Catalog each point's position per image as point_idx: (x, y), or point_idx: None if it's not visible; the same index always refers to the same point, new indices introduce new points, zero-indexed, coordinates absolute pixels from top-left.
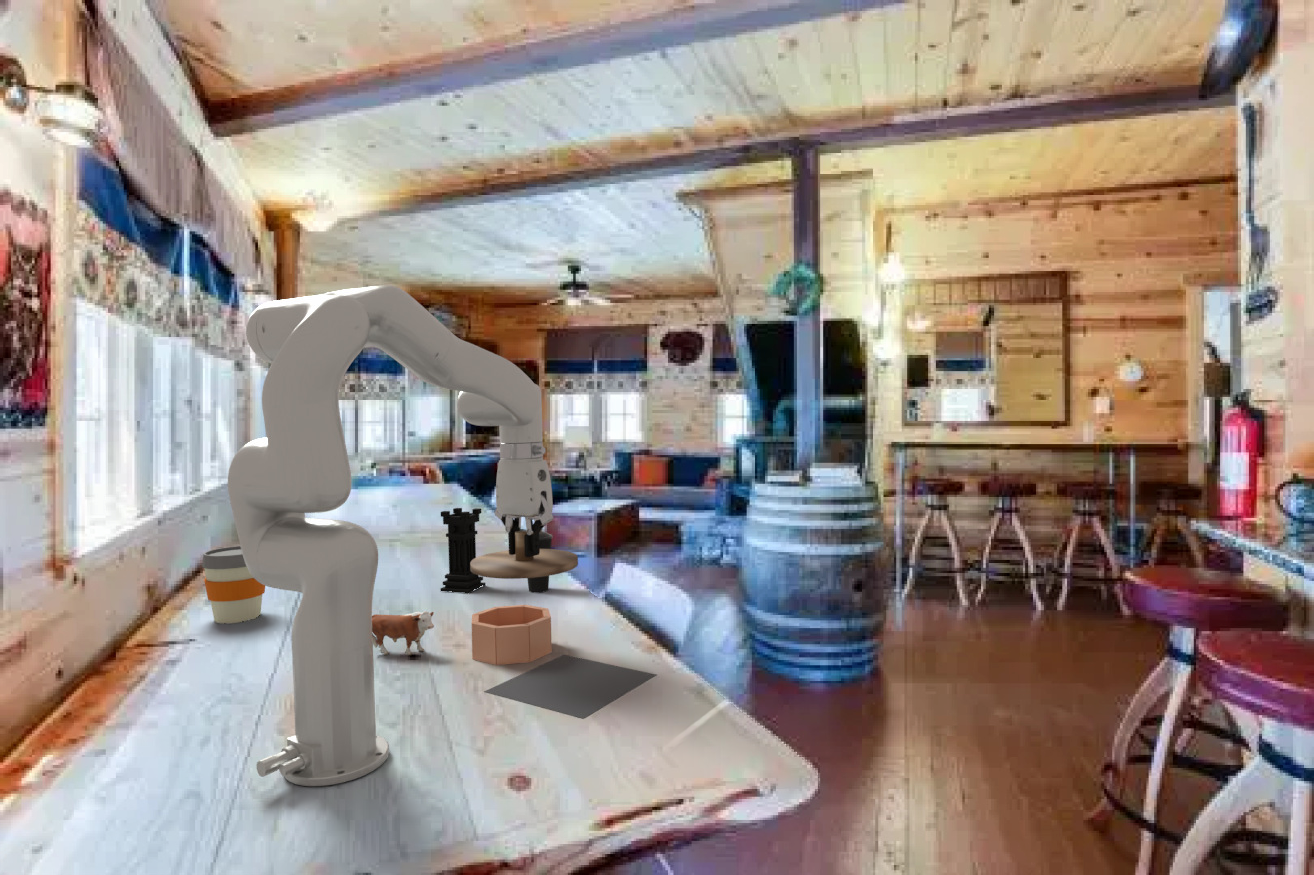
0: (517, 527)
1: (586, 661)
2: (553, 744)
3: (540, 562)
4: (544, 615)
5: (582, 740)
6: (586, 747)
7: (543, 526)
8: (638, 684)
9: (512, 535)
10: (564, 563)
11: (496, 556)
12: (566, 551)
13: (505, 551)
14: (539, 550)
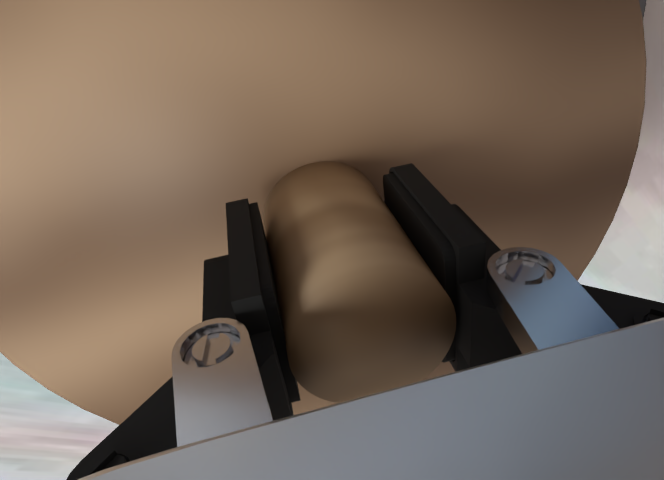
0: (271, 379)
1: None
2: (601, 274)
3: (470, 200)
4: None
5: (634, 239)
6: (648, 247)
7: (634, 305)
8: (642, 5)
9: (297, 387)
10: (613, 121)
11: (94, 293)
12: None
13: None
14: (418, 170)
